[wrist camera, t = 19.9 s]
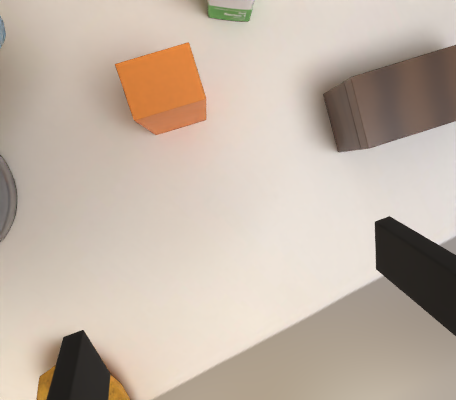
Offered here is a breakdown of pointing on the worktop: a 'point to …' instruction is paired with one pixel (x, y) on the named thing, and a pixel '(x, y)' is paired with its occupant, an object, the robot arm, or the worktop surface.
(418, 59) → the shelf
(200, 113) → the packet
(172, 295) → the worktop surface
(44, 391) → the potato
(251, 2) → the ink box
